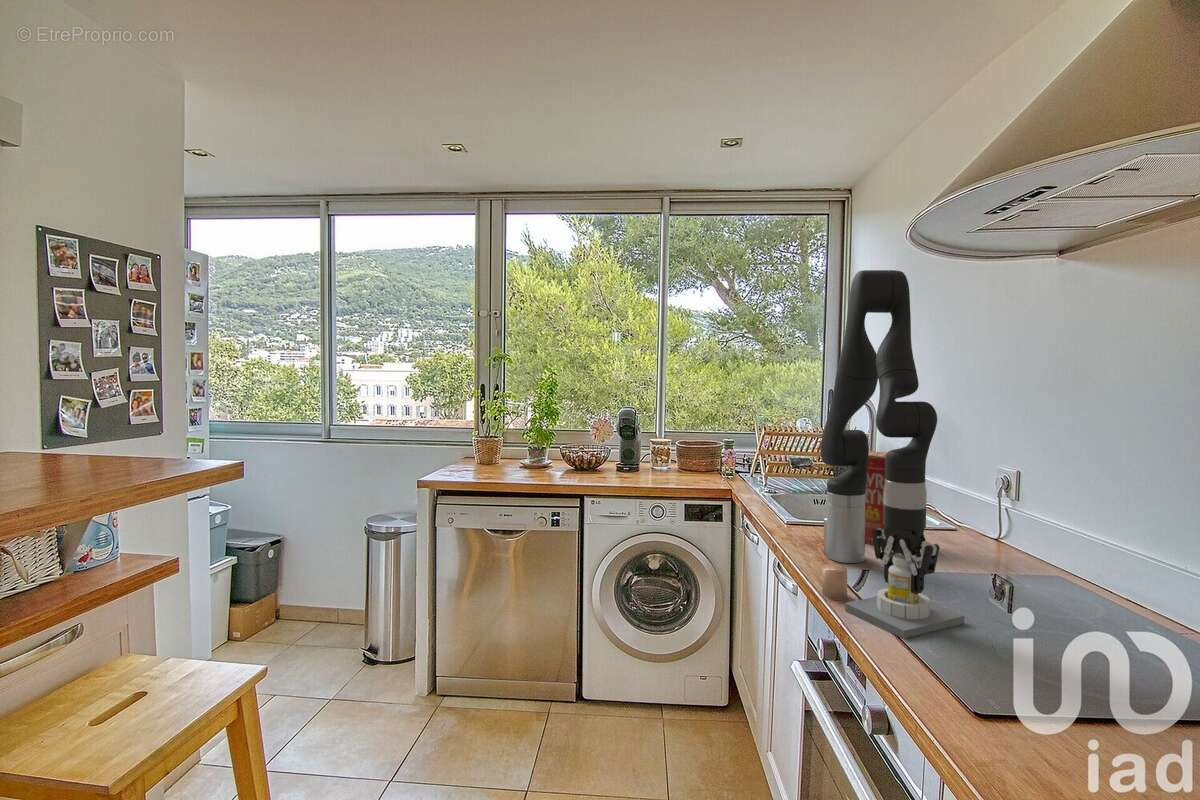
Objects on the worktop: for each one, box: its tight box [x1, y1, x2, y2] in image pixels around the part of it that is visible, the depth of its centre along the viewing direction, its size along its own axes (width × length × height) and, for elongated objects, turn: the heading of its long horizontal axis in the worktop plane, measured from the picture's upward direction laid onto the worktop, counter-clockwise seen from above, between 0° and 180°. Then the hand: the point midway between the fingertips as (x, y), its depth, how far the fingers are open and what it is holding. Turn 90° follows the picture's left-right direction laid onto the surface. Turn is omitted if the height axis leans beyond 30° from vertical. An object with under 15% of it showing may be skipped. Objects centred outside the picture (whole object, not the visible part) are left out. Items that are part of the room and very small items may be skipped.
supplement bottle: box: [887, 554, 918, 604], centre depth 117 cm, size 5×5×10 cm
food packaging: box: [846, 450, 888, 546], centre depth 168 cm, size 13×9×25 cm
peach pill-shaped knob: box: [821, 563, 848, 601], centre depth 129 cm, size 5×5×6 cm
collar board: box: [844, 587, 965, 639], centre depth 118 cm, size 14×16×4 cm
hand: (903, 587), depth 118 cm, fingers closed on supplement bottle, 5 cm apart
